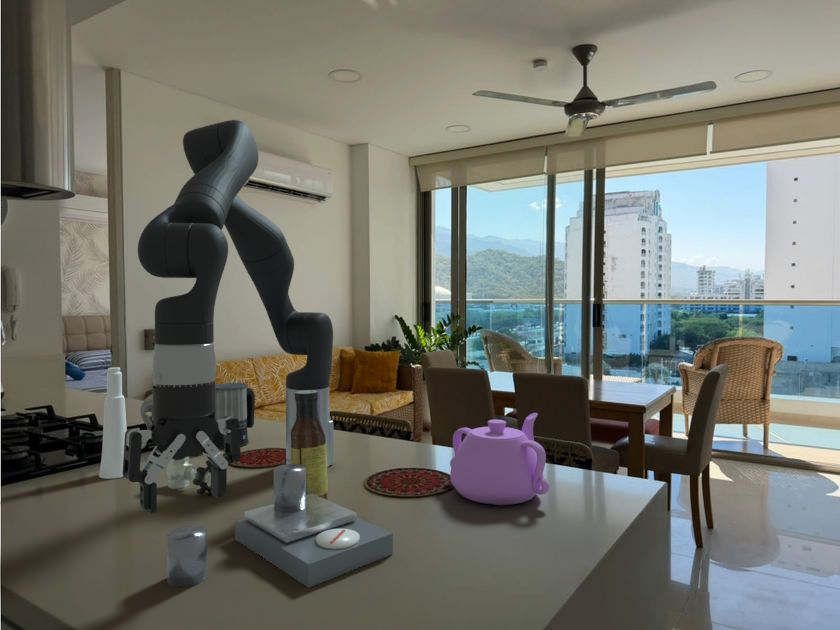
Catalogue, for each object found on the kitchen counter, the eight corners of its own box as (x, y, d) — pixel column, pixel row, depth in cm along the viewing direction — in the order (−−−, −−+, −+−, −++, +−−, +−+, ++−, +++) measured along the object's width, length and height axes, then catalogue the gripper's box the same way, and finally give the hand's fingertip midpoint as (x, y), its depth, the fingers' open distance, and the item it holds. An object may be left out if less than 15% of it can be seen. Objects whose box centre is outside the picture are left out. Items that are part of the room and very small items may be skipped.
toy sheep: (193, 424, 166) (192, 386, 166) (169, 439, 149) (168, 396, 149) (155, 424, 166) (155, 386, 166) (127, 439, 149) (127, 396, 149)
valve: (156, 489, 111) (196, 501, 104) (156, 455, 111) (195, 464, 104) (187, 480, 116) (226, 491, 110) (186, 447, 116) (226, 456, 110)
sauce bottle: (334, 498, 106) (333, 389, 105) (317, 510, 100) (316, 395, 99) (302, 494, 108) (302, 387, 107) (283, 506, 102) (283, 393, 101)
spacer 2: (295, 499, 93) (295, 462, 93) (311, 507, 89) (311, 468, 89) (267, 506, 89) (267, 468, 89) (284, 515, 86) (284, 475, 86)
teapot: (584, 491, 110) (585, 418, 110) (520, 523, 95) (521, 438, 94) (490, 467, 125) (490, 403, 125) (421, 492, 110) (422, 419, 109)
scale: (313, 515, 97) (313, 494, 97) (392, 554, 83) (392, 529, 83) (235, 539, 88) (234, 516, 87) (308, 587, 73) (308, 559, 73)
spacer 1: (198, 566, 79) (197, 522, 79) (213, 578, 76) (213, 533, 75) (161, 578, 76) (161, 532, 76) (176, 591, 72) (175, 544, 72)
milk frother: (241, 449, 139) (240, 388, 139) (176, 448, 140) (175, 387, 139) (259, 435, 154) (258, 379, 153) (200, 435, 154) (199, 379, 154)
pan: (312, 499, 96) (312, 493, 96) (356, 519, 87) (356, 513, 87) (244, 518, 87) (244, 511, 87) (286, 542, 79) (286, 535, 79)
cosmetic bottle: (128, 477, 117) (127, 369, 117) (95, 480, 116) (93, 370, 115) (134, 469, 123) (133, 365, 123) (102, 471, 121) (101, 366, 121)
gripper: (224, 371, 82) (224, 485, 83) (115, 380, 73) (116, 509, 73) (249, 376, 77) (249, 498, 77) (135, 387, 67) (136, 526, 68)
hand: (184, 503), depth 75 cm, fingers open, 8 cm apart
